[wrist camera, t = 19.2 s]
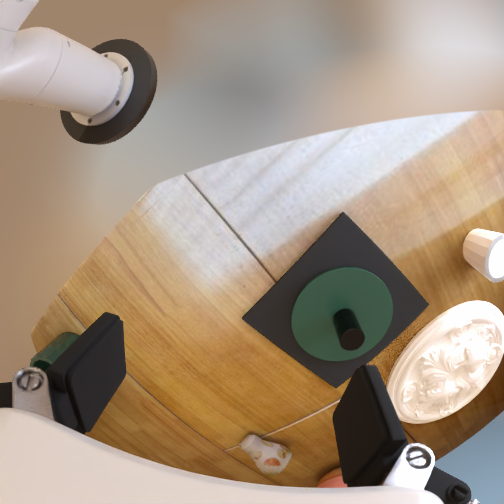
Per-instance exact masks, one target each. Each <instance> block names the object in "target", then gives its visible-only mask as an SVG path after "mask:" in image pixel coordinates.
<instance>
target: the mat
mask: <svg viewBox="0 0 504 504" xmlns="http://www.w3.org/2000/svg"><path fill="white" fill-rule="evenodd" d="M339 267H357V268H362V269H365V270H368V271H370V272H372V273H373V274H375V275H376V276H378V277H379V278H380V279H381V280H382V281H383V282H384V284H385V285H386V286H387V288H388V290H389V292H390V294H391V297H392V302H393V315H392V320H391V323H390V326H389V328H388V330H387V332H386V333H385V335H384V337H383V338H382V339H381V340H380V342H379V343H378V344H377V345H376V346H374V347H373V348H372V349H371V350H369V351H368V352H366V353H365V354H363V355H361V356H358V357H356V358H353V359H349V360H345V361H327V360H322V359H319V358H316V357H314V356H312V355H310V354H309V353H307V352H306V351H305V350H304V349H303V348H302V347H301V346H300V345H299V344H298V342H297V341H296V339H295V337H294V334H293V331H292V325H291V314H292V309H293V305H294V303H295V300H296V298H297V296H298V295H299V293H300V292H301V290H302V289H303V288H304V287H305V286H306V285H307V284H308V283H309V282H310V281H311V280H312V279H314V278H315V277H316V276H318V275H320V274H322V273H324V272H326V271H328V270H331V269H335V268H339ZM428 305H429V304H428V303H427V302H426V300H425V299H424V298H423V297H422V296H421V294H420V293H419V292H418V291H417V290H416V289H415V287H414V286H413V285H412V284H411V283H410V282H409V281H408V279H407V278H406V277H405V276H404V275H403V274H402V273H401V271H400V270H399V269H398V268H397V267H396V266H395V265H394V264H393V263H392V262H391V260H390V259H389V258H388V257H387V256H386V255H385V254H384V253H383V252H382V251H381V250H380V249H379V248H378V247H377V246H376V244H375V243H374V242H373V241H372V240H371V239H370V238H369V237H368V236H367V235H366V234H365V233H364V232H363V231H362V230H361V229H360V228H359V227H358V226H357V225H356V224H355V223H354V222H353V221H352V220H351V219H350V218H349V217H348V216H347V215H346V214H345V213H344V212H342V213H341V214H340V216H339V217H338V218H337V219H336V220H335V221H334V222H333V223H332V224H331V225H330V227H329V228H328V229H327V230H326V231H325V232H324V233H323V234H322V235H321V236H320V237H319V238H318V240H317V241H316V242H315V243H314V244H313V245H312V246H311V247H310V248H309V249H308V250H307V251H306V252H305V253H304V254H303V256H302V257H301V258H300V259H299V260H298V261H297V262H296V263H295V264H294V265H293V266H292V267H291V268H290V269H289V270H288V271H287V272H286V273H285V274H284V275H283V276H282V278H281V279H280V280H279V281H278V282H277V283H276V284H275V285H274V286H273V287H272V288H271V289H270V290H269V291H268V292H267V293H266V294H265V295H264V296H263V297H262V298H261V299H260V300H259V301H258V302H257V303H256V304H255V305H254V306H253V307H252V308H251V309H250V310H249V311H248V312H247V313H246V314H245V315H244V316H243V317H242V319H243V320H244V321H245V322H247V323H248V324H249V325H250V326H252V327H253V328H254V329H256V330H257V331H258V332H259V333H261V334H262V335H263V336H265V337H266V338H267V339H269V340H270V341H271V342H272V343H274V344H275V345H276V346H278V347H279V348H280V349H282V350H283V351H284V352H286V353H287V354H289V355H290V356H291V357H293V358H294V359H295V360H297V361H298V362H299V363H301V364H302V365H304V366H305V367H306V368H308V369H309V370H310V371H312V372H313V373H315V374H316V375H318V376H319V377H320V378H322V379H323V380H325V381H326V382H327V383H329V384H330V385H332V386H333V387H335V388H337V387H339V386H340V385H341V384H342V383H344V382H345V381H346V380H348V379H349V378H350V377H351V376H353V374H354V372H355V370H356V368H360V366H361V365H366V364H367V363H368V362H370V361H371V360H372V359H373V358H374V357H375V356H376V355H378V354H379V353H380V352H381V351H382V350H383V349H384V348H386V347H387V346H388V345H389V344H390V343H391V342H392V341H393V340H394V339H395V338H396V337H397V336H398V335H400V334H401V333H402V332H403V331H404V330H405V329H406V328H407V327H408V326H409V325H410V324H411V323H412V322H413V321H414V320H415V319H416V318H417V317H418V316H419V315H420V314H421V313H422V312H423V311H424V310H425V309H426V308H427V306H428Z"/></svg>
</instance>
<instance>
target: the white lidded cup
mask: <svg viewBox="0 0 504 504" xmlns="http://www.w3.org/2000/svg"><path fill="white" fill-rule="evenodd" d="M463 255H464V259H465V260H466V261H467V262H468V263H469V264H470V265H471V266H473V267H474V268H475V269H476V270H478V271H479V272H480V273H481V274H483V275H484V276H485V277H486V278H487V279H489V280H490V281H492V282H495V283H497V282H500V281H502V280H503V279H504V234H501V233H497V232H492V231H487V230H482V229H474V230H472V231H471V232H469V233H468V235H467V236H466V238H465V240H464V244H463Z"/></svg>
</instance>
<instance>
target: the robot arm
mask: <svg viewBox="0 0 504 504" xmlns="http://www.w3.org/2000/svg"><path fill="white" fill-rule="evenodd" d="M38 2H39V0H0V101H11V102H18V103H25V104H30V105H36V106H42V107H48V108H54V109H58V110H63V111H68V112H71V115H72V117H73V118H74V119H75V120H76V121H77V122H79V123H80V124H83V125H87V126H97V125H100V124H103V123H105V122H107V121H109V120H110V119H112V118H113V117H114V116H115V115H116V114H117V113H118V112H119V111H120V110H121V109H122V107H123V106H124V105H125V103H126V101H127V100H128V98H129V95H130V93H131V91H132V86H133V80H134V74H133V68H132V66H131V64H130V62H129V61H128V60H127V59H126V58H125V57H124V56H122V55H120V54H118V53H114V52H108V53H103V54H99V53H97V52H95V51H93V50H91V49H89V48H87V47H86V46H84V45H82V44H80V43H78V42H76V41H74V40H72V39H70V38H68V37H66V36H64V35H62V34H60V33H58V32H56V31H54V30H52V29H49V28H45V27H32V28H27V29H23V30H21V31H18V29H19V27H20V26H21V25H22V23H23V22H24V20H25V19H26V18H27V16H28V15H29V13H30V12H31V11H32V9H33V8H34V7H35V5H36V4H37V3H38ZM125 375H126V362H125V349H124V331H123V321H122V320H120V318H119V316H118V315H114V314H111V313H108V312H105V313H103V314H102V315H101V316H100V317H99V318H98V319H97V320H96V321H95V322H94V323H93V324H92V325H91V326H90V327H89V328H88V329H87V330H86V331H85V332H84V333H82V334H81V335H80V336H79V337H78V338H77V339H76V340H75V341H74V342H73V343H72V344H71V345H70V346H69V347H68V348H67V349H66V350H65V351H64V352H63V353H62V354H61V355H60V356H59V357H58V358H57V359H56V360H55V361H54V362H53V363H52V364H51V365H50V366H49V367H48V368H47V369H46V370H45V371H43V370H41V369H40V368H37V367H25V368H22V369H20V370H18V371H17V372H16V373H15V375H14V377H13V380H12V382H8V383H0V504H480V503H479V502H478V501H477V500H475V499H474V500H473V501H471V500H470V499H471V490H470V488H469V487H468V485H467V484H466V483H464V482H463V481H461V480H459V479H457V478H455V477H453V476H451V475H449V474H447V473H446V472H444V471H441V470H440V469H438V468H436V467H434V463H435V457H434V455H433V453H432V451H431V450H430V449H429V448H428V447H426V446H425V445H422V444H419V443H413V444H408V441H407V438H406V435H405V433H404V430H403V428H402V425H401V423H400V420H399V418H398V415H397V413H396V410H395V408H394V405H393V403H392V401H391V398H390V396H389V394H388V391H387V389H386V387H385V384H384V382H383V380H382V377H381V375H380V373H379V371H378V368H377V367H376V366H375V365H361V366H360V368H356V370H355V372H354V374H353V376H352V378H351V380H350V382H349V384H348V386H347V388H346V390H345V392H344V394H343V396H342V398H341V400H340V402H339V403H338V405H337V407H336V409H335V411H334V413H333V424H334V430H335V436H336V441H337V447H338V453H339V459H340V465H341V472H342V478H343V482H344V484H347V488H303V487H284V486H272V485H262V484H253V483H246V482H239V481H232V480H227V479H221V478H216V477H211V476H206V475H201V474H197V473H193V472H188V471H184V470H181V469H177V468H173V467H170V466H166V465H163V464H159V463H156V462H153V461H150V460H147V459H144V458H141V457H138V456H135V455H132V454H129V453H127V452H124V451H121V450H119V449H116V448H114V447H111V446H109V445H106V444H104V443H101V442H99V441H97V440H94V439H92V438H90V437H87V436H85V435H84V434H85V432H90V431H91V429H92V428H93V426H94V425H95V423H96V421H97V420H98V418H99V417H100V415H101V413H102V412H103V410H104V409H105V407H106V406H107V404H108V402H109V401H110V399H111V398H112V396H113V395H114V393H115V392H116V390H117V389H118V387H119V385H120V384H121V382H122V381H123V379H124V378H125Z"/></svg>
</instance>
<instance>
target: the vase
mask: <svg viewBox="0 0 504 504" xmlns="http://www.w3.org/2000/svg"><path fill="white" fill-rule="evenodd" d="M315 488H347V484H344V482H343V478H342V472H341V467H337V468H335V469H333V470H331V471H330V472H328V473H327V474H326V475H325V476H323V477H322V478H321V479H320V480H319V482H318V483H317V485H316V487H315Z"/></svg>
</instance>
